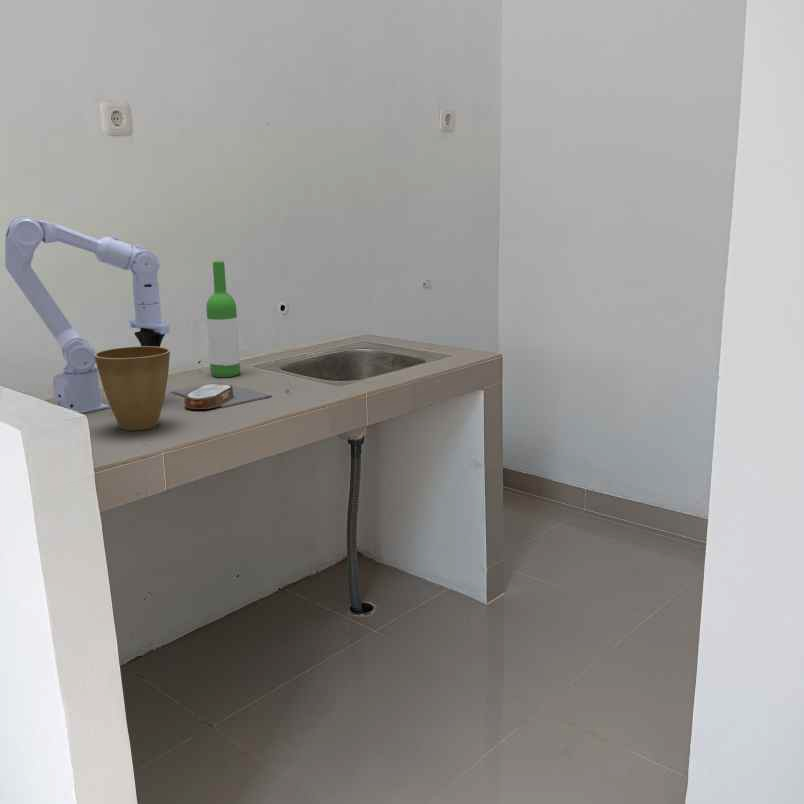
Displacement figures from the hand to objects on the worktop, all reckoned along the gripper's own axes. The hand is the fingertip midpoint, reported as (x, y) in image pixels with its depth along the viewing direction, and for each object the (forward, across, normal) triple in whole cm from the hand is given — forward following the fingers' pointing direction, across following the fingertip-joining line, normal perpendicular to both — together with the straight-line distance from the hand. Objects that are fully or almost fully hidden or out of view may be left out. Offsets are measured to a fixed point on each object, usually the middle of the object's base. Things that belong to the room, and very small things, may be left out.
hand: (152, 361), depth 201 cm
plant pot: (+10, -18, +14) cm, 25 cm away
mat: (+9, -7, -14) cm, 18 cm away
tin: (+7, -8, -5) cm, 12 cm away
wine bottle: (+10, +11, -27) cm, 31 cm away
